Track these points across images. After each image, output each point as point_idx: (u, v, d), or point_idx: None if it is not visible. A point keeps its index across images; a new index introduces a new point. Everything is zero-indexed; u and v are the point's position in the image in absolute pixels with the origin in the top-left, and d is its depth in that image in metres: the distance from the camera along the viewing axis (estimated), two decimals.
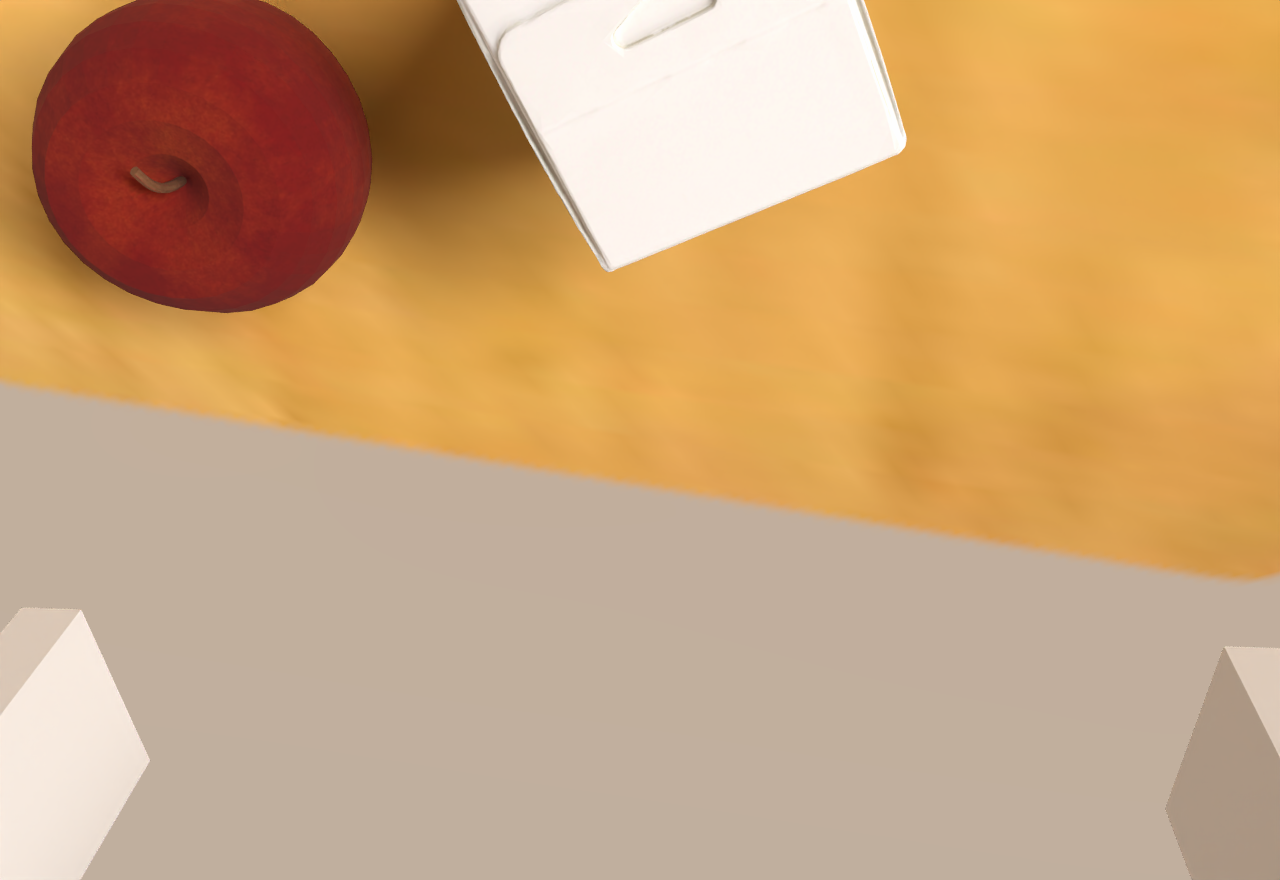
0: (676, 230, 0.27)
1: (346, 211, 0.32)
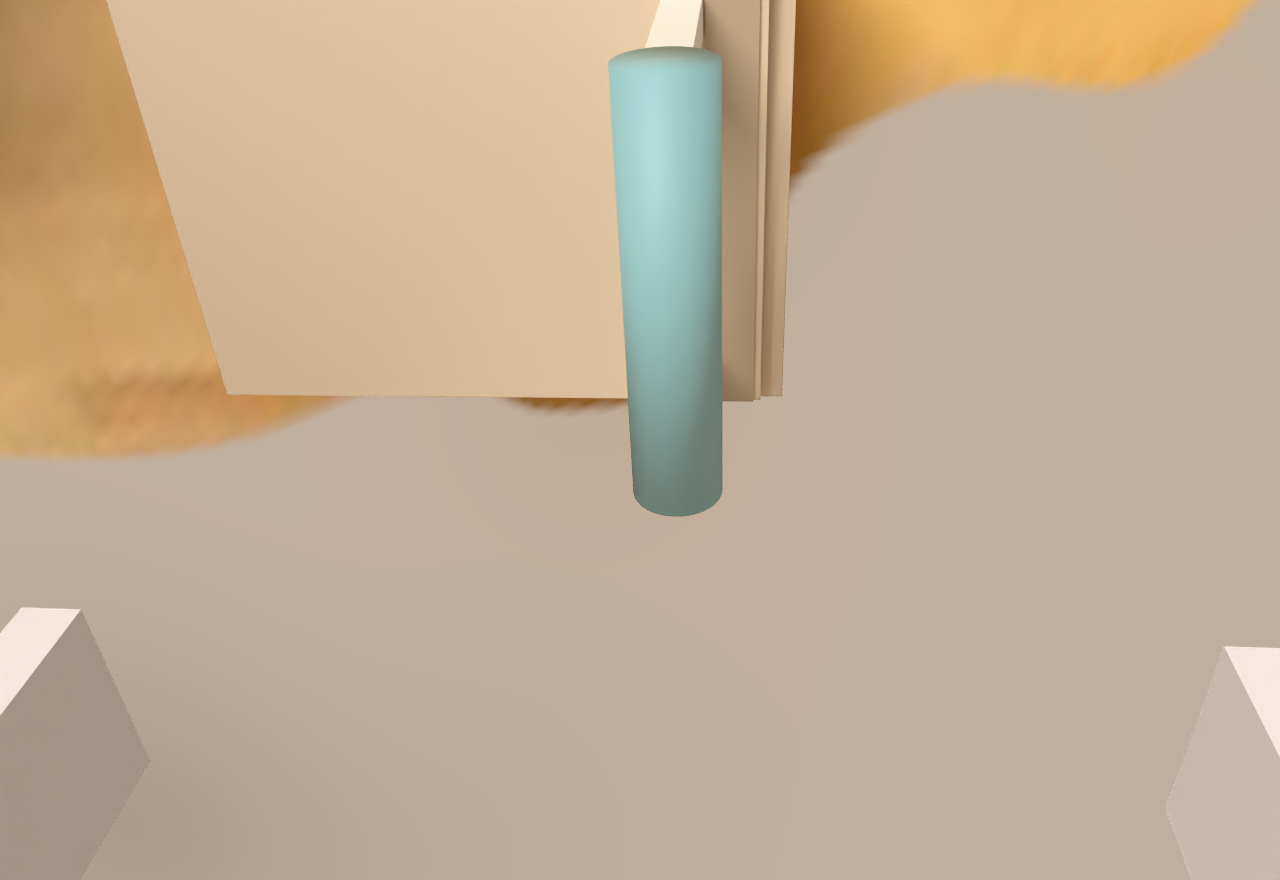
0: None
1: None
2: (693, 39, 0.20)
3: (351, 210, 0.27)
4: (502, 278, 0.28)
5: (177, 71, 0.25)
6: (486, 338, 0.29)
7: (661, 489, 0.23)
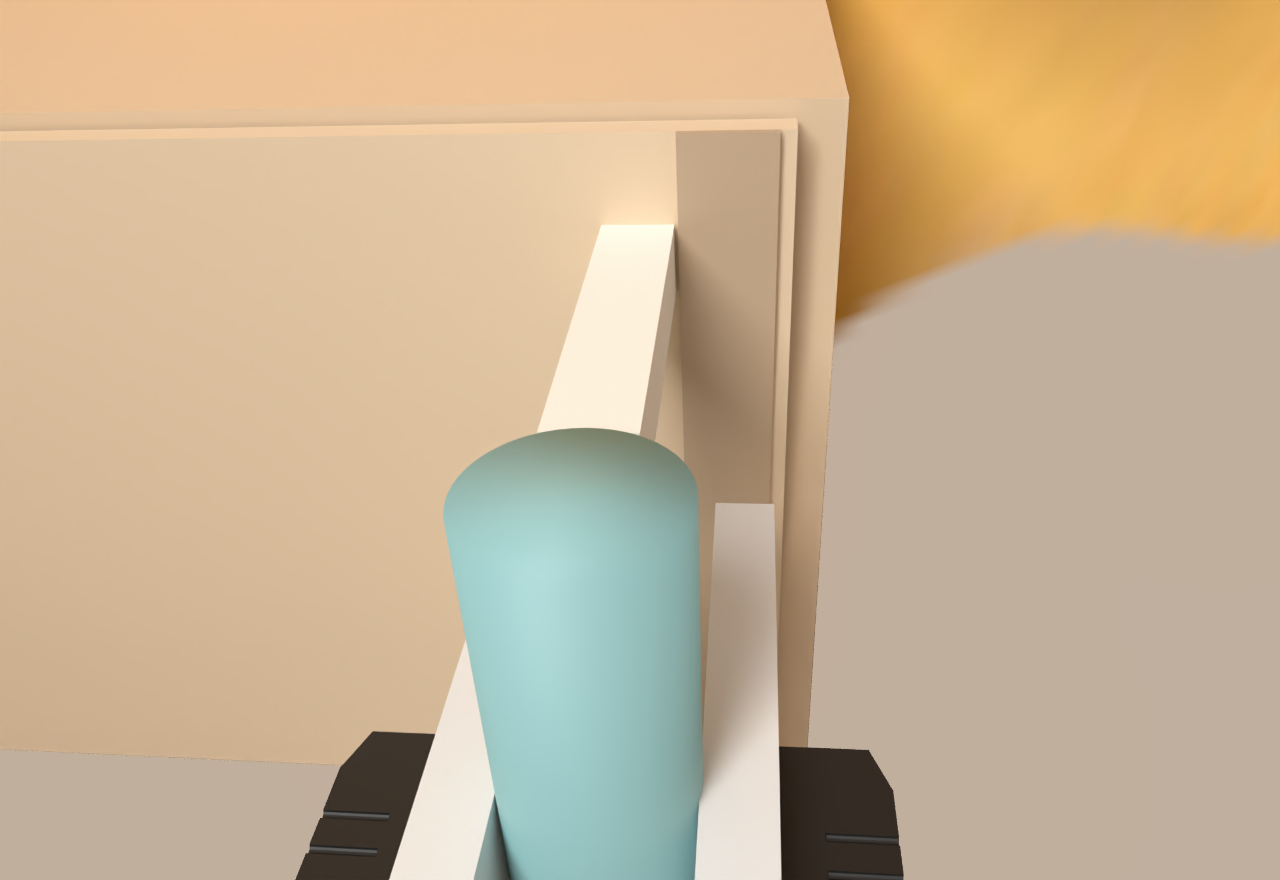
0: None
1: None
2: (644, 393, 0.10)
3: (110, 524, 0.17)
4: (361, 620, 0.17)
5: None
6: (344, 695, 0.18)
7: None
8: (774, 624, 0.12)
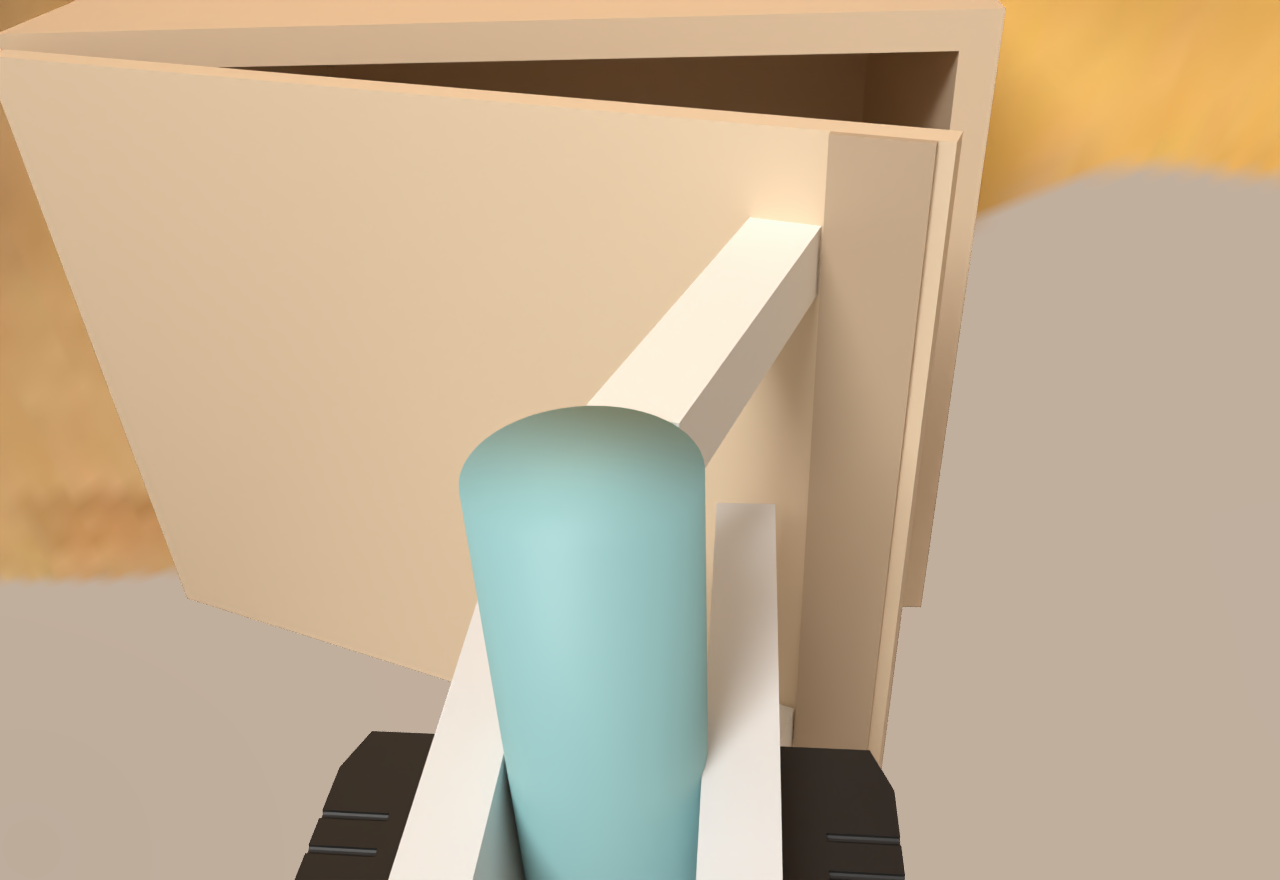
0: None
1: None
2: (703, 385, 0.10)
3: (308, 429, 0.19)
4: None
5: (92, 216, 0.18)
6: None
7: None
8: (775, 624, 0.12)
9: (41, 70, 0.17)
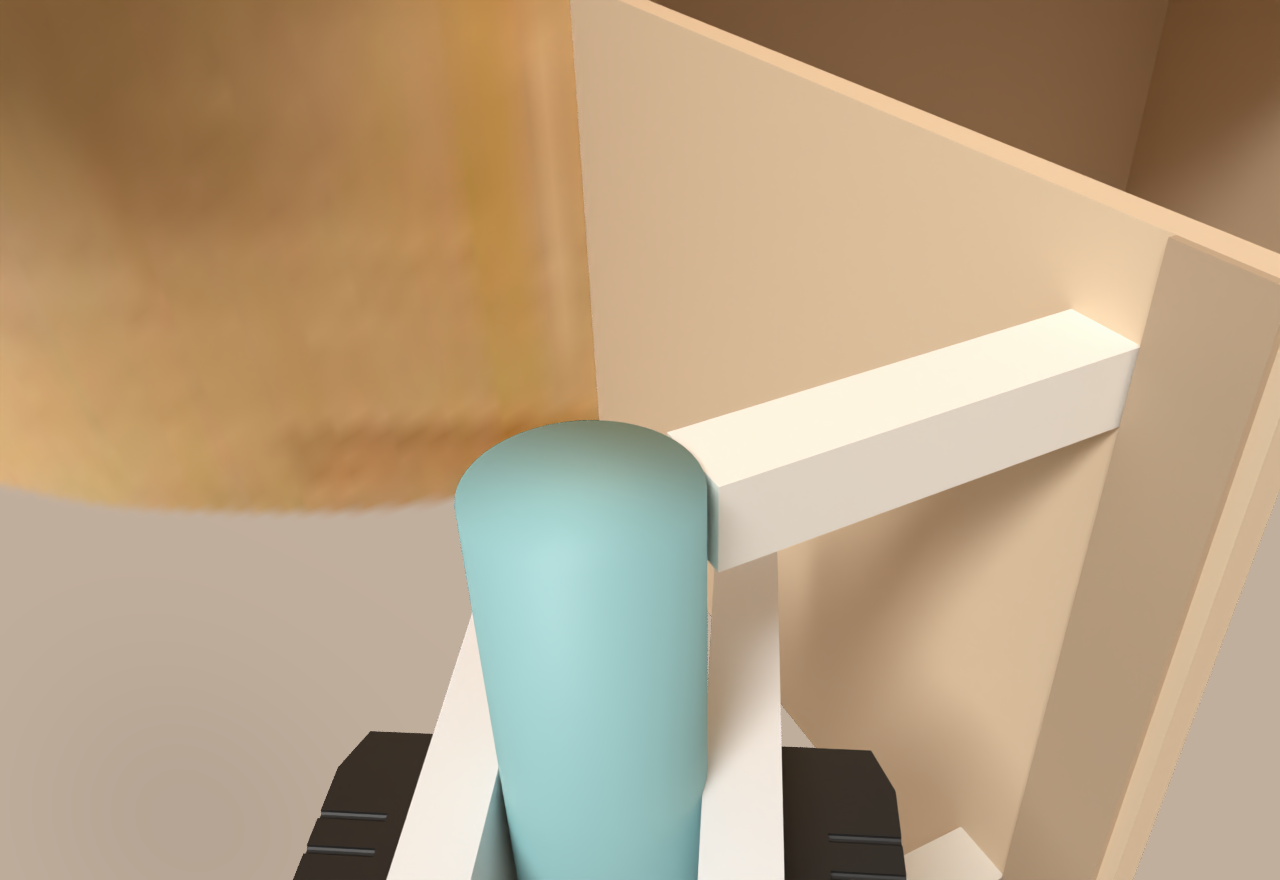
0: None
1: None
2: (786, 462, 0.09)
3: (694, 374, 0.20)
4: (800, 567, 0.18)
5: (603, 132, 0.20)
6: None
7: None
8: (776, 624, 0.12)
9: None
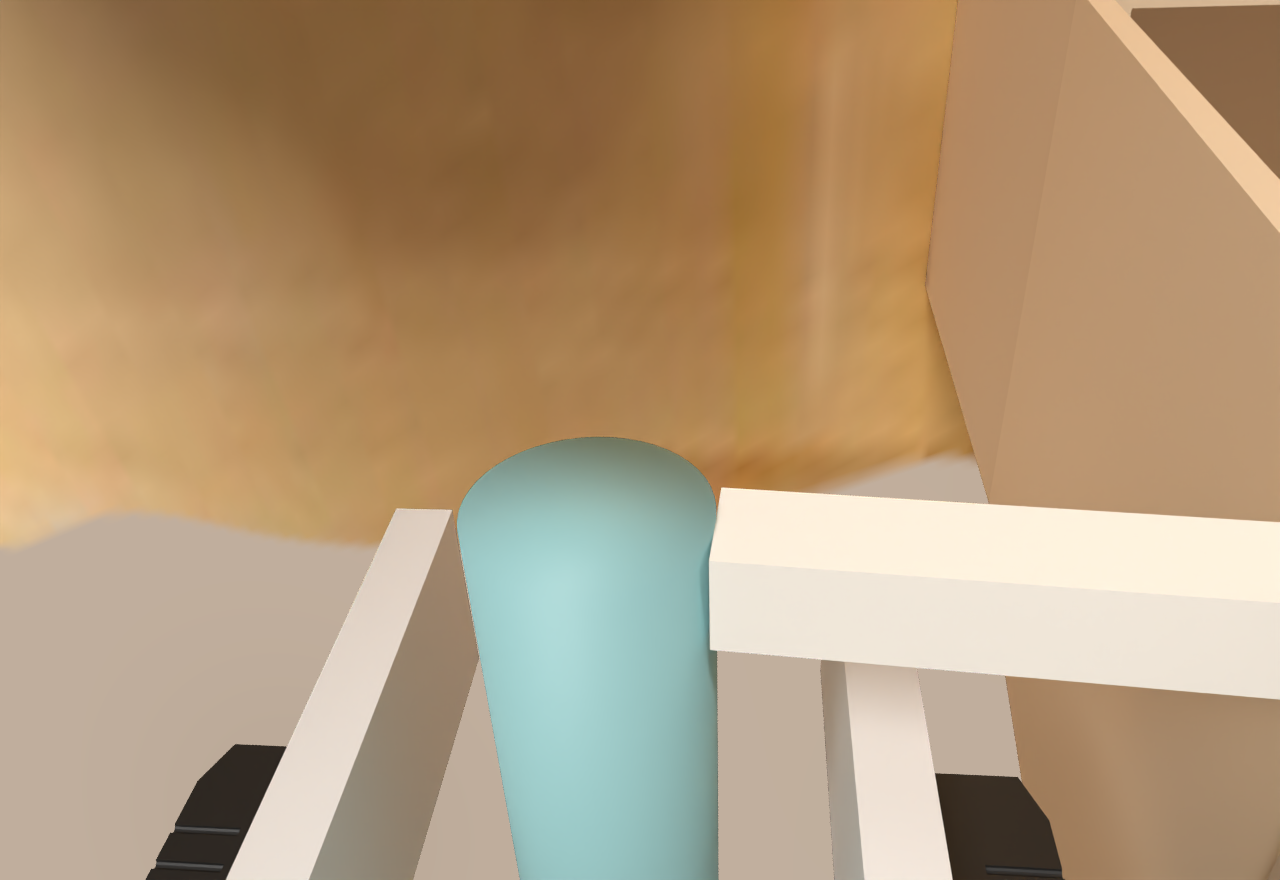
0: None
1: None
2: (799, 564, 0.08)
3: (1059, 454, 0.17)
4: (1076, 709, 0.15)
5: (1062, 164, 0.18)
6: (1049, 757, 0.17)
7: None
8: None
9: (1089, 14, 0.17)
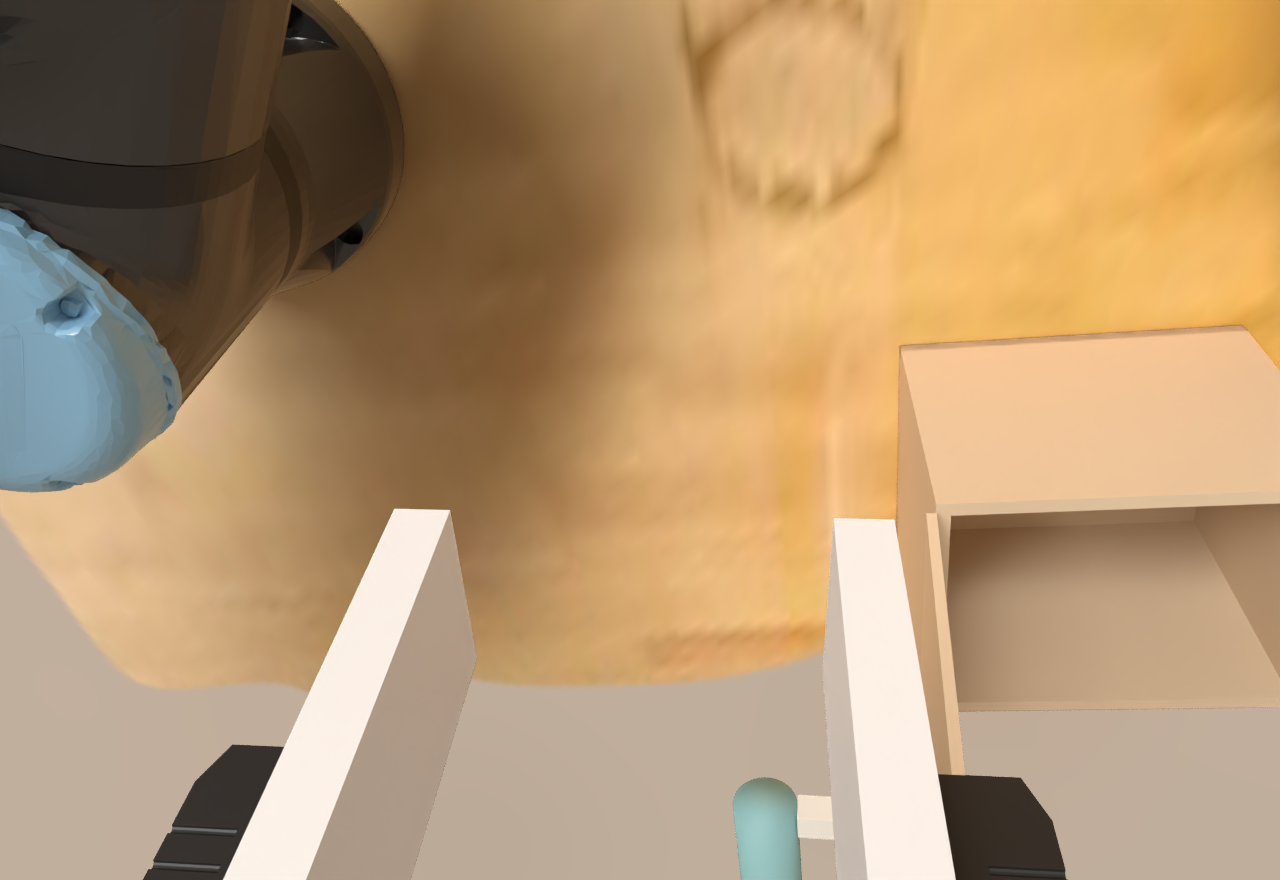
0: None
1: None
2: (818, 819, 0.32)
3: (929, 711, 0.42)
4: None
5: (926, 582, 0.43)
6: None
7: None
8: (913, 646, 0.11)
9: (927, 535, 0.41)
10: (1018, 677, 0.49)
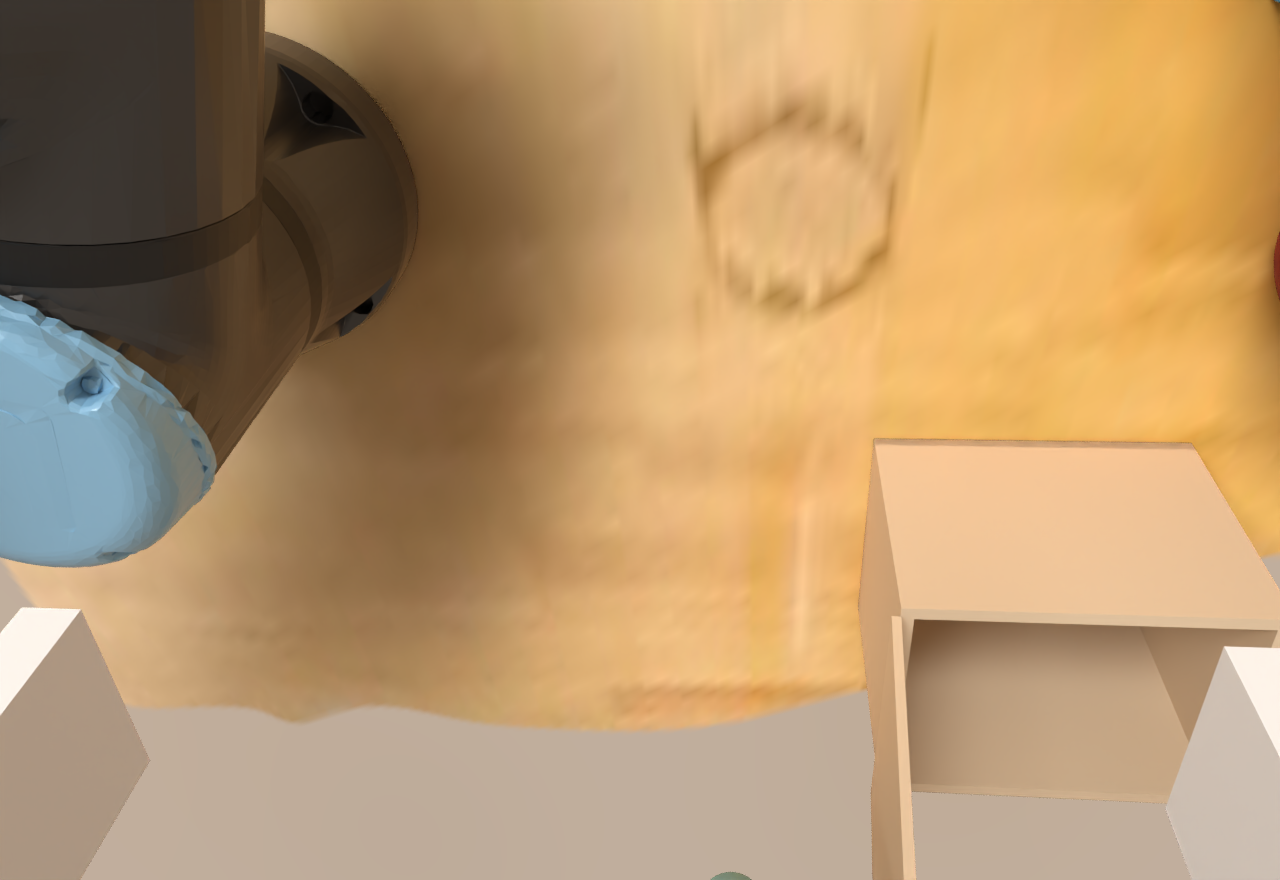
0: None
1: None
2: None
3: (882, 801, 0.45)
4: None
5: (887, 679, 0.46)
6: None
7: None
8: None
9: (892, 638, 0.44)
10: (964, 761, 0.52)
